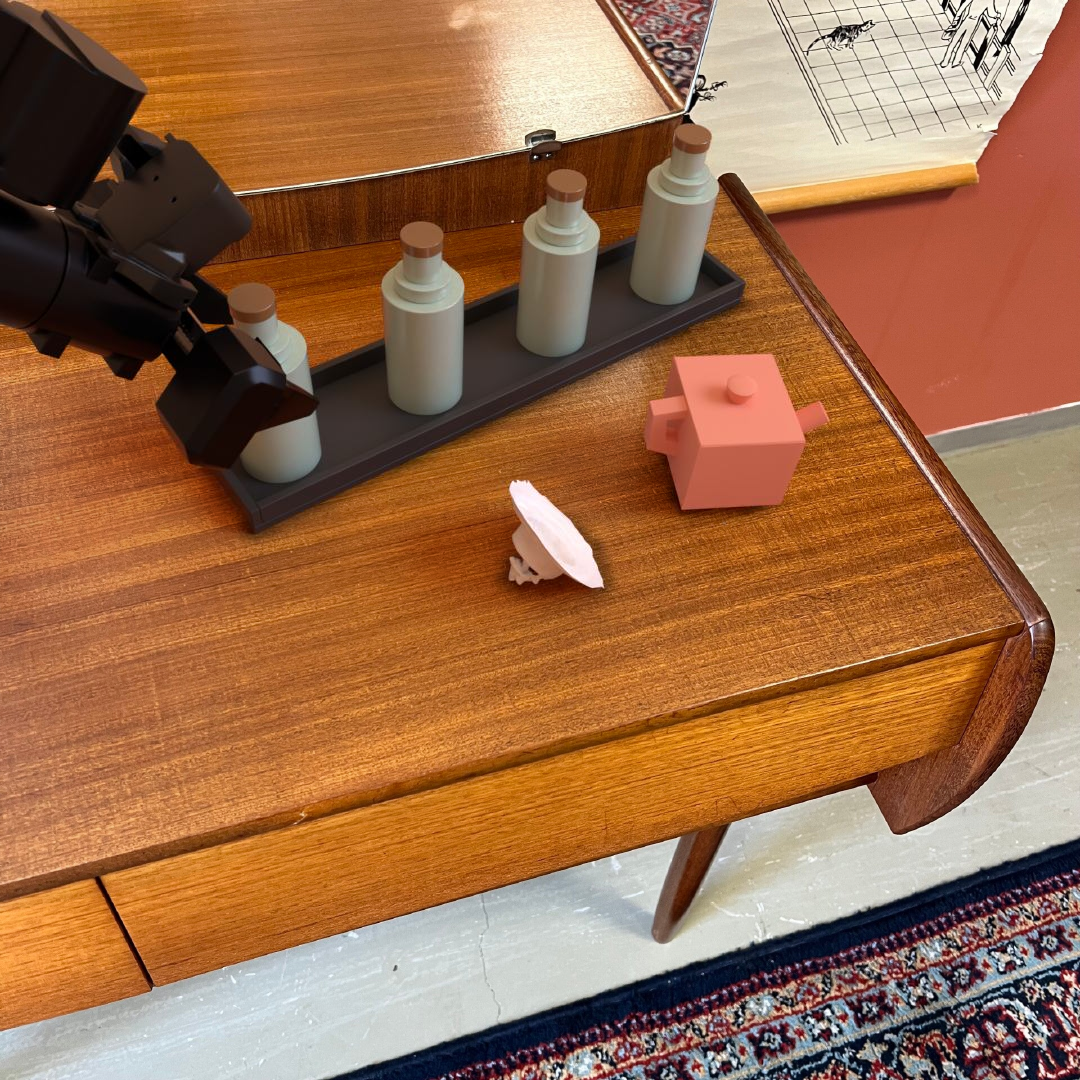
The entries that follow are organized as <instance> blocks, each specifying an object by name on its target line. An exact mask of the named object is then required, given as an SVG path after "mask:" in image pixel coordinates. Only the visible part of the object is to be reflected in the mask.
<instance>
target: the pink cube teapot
mask: <svg viewBox="0 0 1080 1080" xmlns="http://www.w3.org/2000/svg"><path fill="white" fill-rule="evenodd" d="M665 385H666V386H665V390H664V394H663V398H660V399H653V400H649V403H648V407H647V408H648V409H647V413H646V419H645V424H644V429H643V438H644V442H645V446H646V450H648V451H652V452H656V453H660V454H663V455H666V457H667V462H668V466H669V469H670V473H671V476H672V480H673V483H674V487H675V491H676V494H677V498H678V502H679V505H680V508H681V510H682V511H684V510H704V509H719V508H722V509H723V508H737V507H738V508H739V507H755V506H756V507H758V506H759V507H760V506H774V505H775V506H777V505H782V503H783V500H784V497H785V495H786V493H787V490H788V488H789V486H790V483H791V481H792V479H793V476H794V473H795V471H796V469H797V467H798V464H799V461H800V459H801V456H802V454H803V451H804V449H805V446H806V444H807V440H806V437H805V434H807V433H808V432H811V431H812V430H815V429H817V428H819V427H821V426H824V425H825V424H827V423H829V422H830V418H829V416H828V414H827V412H826V410H825V407H824V406H823V404H822V403H821V401H820V400H817V401H815V402H813V403H811V404H808V405H806V406H804V407H802V408H800V409H797V410H796V411H795V408H794V405H793V403H792V401H791V398H790V395H789V392H788V390H787V388H786V385H785V382H784V379H783V377H782V374H781V371H780V370H779V367H778V364H777V363H776V360H775V357H774V354H773V353H756V354H751V353H750V354H723V355H722V354H719V355H718V354H717V355H715V354H714V355H693V356H673V357H672V360H671V364H670V369H669V373H668V377H667V382H666V384H665Z"/></svg>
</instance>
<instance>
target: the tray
mask: <svg viewBox="0 0 1080 1080" xmlns="http://www.w3.org/2000/svg"><path fill="white" fill-rule="evenodd" d="M636 238H637V233H634V234H631V235H629V236H627V237H625V238H622V239H620V240H617V241H615V242H613V243H610V244H607V245H606V246H603V247H601V248H598V254H597V261H596V268H595V275H594V282H593V289H592V296H591V303H590V310H589V317H588V324H587V331H586V337H585V341H584V343H583V345H582V346H581V347H580V348H579V349H578V350H577V351H575V352H574V353H572V354H569V355H566V356H561V357H546V356H541V355H538V354H535V353H533V352H531V351H529V350H527V349H526V348H525V347H523V345H522V344H521V343H520V342H519V340H518V338H517V336H516V321H517V307H518V293H519V281H518V282H516V283H513V284H511V285H508V286H506V287H504V288H501V289H499V290H496V291H494V292H491V293H489V294H487V295H485V296H481V297H480V298H477V299H474V300H472V301H469V302H468V303H464V341H463V391H462V395H461V398H460V399H459V401H458V402H457V403H456V404H455V405H454V406H453V407H452V408H451V409H449V410H447V411H445V412H443V413H439V414H435V415H415V414H411V413H408V412H406V411H404V410H402V409H400V408H399V407H397V406H396V405H395V404H394V403H393V402H392V400H391V399H390V397H389V394H388V388H387V372H386V357H385V341H384V337H382V338H380V339H377V340H375V341H373V342H370V343H368V344H365V345H363V346H361V347H358V348H356V349H354V350H351V351H349V352H346V353H343V354H341V355H339V356H337V357H334V358H332V359H329V360H327V361H325V362H322V363H320V364H317V365H315V366H313V367H310V374H311V380H312V387H313V394H314V396H315V397H316V398H317V399H318V400H319V401H320V404H319V405H318V407H317V408H316V415H317V422H318V429H319V436H320V443H321V457H320V460H319V462H318V464H317V465H316V467H315V468H314V469H313V470H312V471H311V472H310V473H308V474H307V475H306V476H304V477H302V478H300V479H298V480H295V481H291V482H287V483H268V482H263V481H260V480H258V479H256V478H254V477H252V476H251V475H250V474H248V473H247V472H246V471H245V469H244V468H243V466H242V464H241V461H240V457H238V459H237V460H236V461H235V463H234V464H233V466H232V467H231V468H230V469H229V470H221V471H218V470H214V469H209V471H210V472H211V473H212V475H213V476H214V478H215V479H216V480H217V482H218V483H219V485H220V486H221V488H222V489H223V490H224V492H225V494H226V495H227V496H228V497H229V499H230V500H231V502H232V503H233V504H234V506H235V507H236V508H237V510H238V511H239V513H240V515H241V516H242V517H243V519H244V520H245V522H246V523H247V524H248V526H249V527H250V528H251V530H252V532H253V533H254V534H258V533H260V532H263V531H265V530H266V529H269V528H271V527H273V526H275V525H277V524H279V523H281V522H284V521H285V520H287V519H289V518H292V517H294V516H296V515H298V514H300V513H302V512H304V511H306V510H309V509H311V508H312V507H316V505H319V504H321V503H323V502H325V501H327V500H329V499H331V498H334V497H336V496H338V495H340V494H342V493H345V492H347V491H348V490H350V489H353V488H355V487H357V486H359V485H361V484H363V483H366V482H367V481H369V480H371V479H373V478H376V477H378V476H380V475H382V474H384V473H386V472H388V471H391V470H393V469H395V468H397V467H399V466H401V465H403V464H406V463H407V462H409V461H412V460H413V459H416V458H418V457H419V456H422V455H424V454H427V453H429V452H430V451H433V450H434V449H436V448H438V447H441V446H443V445H445V444H448V443H449V442H452V441H454V440H455V439H458V438H460V437H462V436H464V435H466V434H468V433H470V432H473V431H474V430H476V429H479V428H480V427H483V426H485V425H487V424H489V423H491V422H493V421H496V420H497V419H500V418H502V417H504V416H506V415H508V414H510V413H512V412H514V411H516V410H518V409H520V408H523V407H525V406H527V405H529V404H531V403H534V402H535V401H537V400H539V399H542V398H544V397H546V396H548V395H550V394H552V393H554V392H556V391H558V390H561V389H563V388H564V387H567V386H569V385H571V384H574V383H575V382H578V381H579V380H582V379H583V378H586V377H587V376H590V375H592V374H594V373H596V372H598V371H600V370H602V369H605V368H607V367H609V366H611V365H614V364H615V363H618V362H619V361H621V360H624V359H626V358H628V357H630V356H632V355H634V354H636V353H638V352H640V351H642V350H644V349H647V348H648V347H651V346H653V345H655V344H657V343H659V342H661V341H663V340H666V339H668V338H670V337H672V336H674V335H676V334H679V333H681V332H683V331H684V330H687V329H689V328H691V327H693V326H695V325H697V324H699V323H701V322H704V321H705V320H708V319H710V318H712V317H714V316H716V315H719V314H720V313H723V312H724V311H726V310H729V309H730V308H733V307H735V306H737V305H739V304H741V301H742V298H743V295H744V291H745V288H746V284H747V281H746V280H745V279H744V278H742V277H741V276H740V275H739V274H738V273H736V272H735V271H734V270H732V269H731V268H730V267H729V266H727V265H726V264H725V263H724V262H722V261H721V260H720V259H719V258H717V257H716V256H714V255H713V254H712V253H711V252H710V251H709V250H708V249H706V248H705V249H704V253H703V258H702V262H701V266H700V270H699V274H698V278H697V282H696V286H695V290H694V293H693V295H692V296H691V297H690V298H689V299H688V300H686V301H684V302H682V303H679V304H674V305H660V304H655V303H652V302H649V301H646V300H644V299H643V298H641V297H640V296H638V295H637V294H636V293H635V292H634V291H633V289H632V288H631V286H630V282H629V278H630V272H631V267H632V261H633V255H634V250H635V244H636Z"/></svg>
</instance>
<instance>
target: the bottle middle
mask: <svg viewBox="0 0 1080 1080" xmlns="http://www.w3.org/2000/svg"><path fill="white" fill-rule="evenodd" d="M587 187H588V181H587V178H586V176H585V175H583V174H582V173H580V172H578V171H577V170H573V169H567V168H565V169H564V168H562V169H556V170H553V171H551V172H549V174H548V175H547V177H546V183H545V191H546V200H545V201H546V202H545V205H542V206H541V207H540V208H539V209H538V210H537V211H535V212H533V213H531V214H530V215H529V216H528V217H527V218H526V219H525V221H524V223H523V226H522V239H521V253H520V268H519V280H518V282H519V293H518V307H517V321H516V336H517V338H518V340H519V342H520V343H521V344H522V345H523V347H525V348H526V349H527V350H529V351H531V352H533V353H535V354H538V355H541V356H546V357H561V356H566V355H569V354H572V353H574V352H575V351H577V350H578V349H579V348H580V347H581V346H582V345H583V343H584V341H585V337H586V331H587V324H588V317H589V310H590V303H591V296H592V289H593V282H594V275H595V268H596V261H597V254H598V249H599V247H600V239H601V231H600V228H599V226H598V224H597V223H596V221H594V219H592V218H591V217H590V216H589V214H588V212H587V211H586V210H585V209H584V208H583V206H584V201H585V200H584V198H585V196H586V194H587V189H588V188H587Z"/></svg>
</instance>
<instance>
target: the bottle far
mask: <svg viewBox="0 0 1080 1080" xmlns="http://www.w3.org/2000/svg"><path fill="white" fill-rule="evenodd" d="M712 139H713V135H712V132H711V131H710V130H709V129H708V128H707V127H705V126H703V125H700V124H697V123H683V124H680V125H678V126H676V128H675V129H674V132H673V137H672V144H673V146H672V150H671V155H670V157H668V158H666V159H665V160H663V161H662V163H661V164H658V165H657V166H655V167H652V169H651V170H650V171H649V172H648V174H647V177H646V182H645V189H644V194H643V200H642V206H641V211H640V216H639V222H638V228H637V233H636V234H637V238H636V244H635V250H634V255H633V261H632V267H631V272H630V278H629V282H630V286H631V288H632V289H633V291H634V292H635V293H636V294H637V295H638V296H640V297H641V298H643V299H644V300H646V301H649V302H652V303H655V304H660V305H674V304H679V303H682V302H684V301H686V300H688V299H689V298H690V297H691V296H692V295H693V293H694V290H695V286H696V282H697V278H698V274H699V270H700V266H701V262H702V258H703V253H704V249H706V245H707V241H708V238H709V232H710V228H711V225H712V221H713V216H714V213H715V212H714V211H715V208H716V204H717V200H718V195H719V192H720V185H719V181H718V180H717V178H716V177H715V176H714V175H713V173H711V169H710V167H709V166H708V165H707V163H706V160H707V155H708V151H709V149H710V148H711V145H712Z"/></svg>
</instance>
